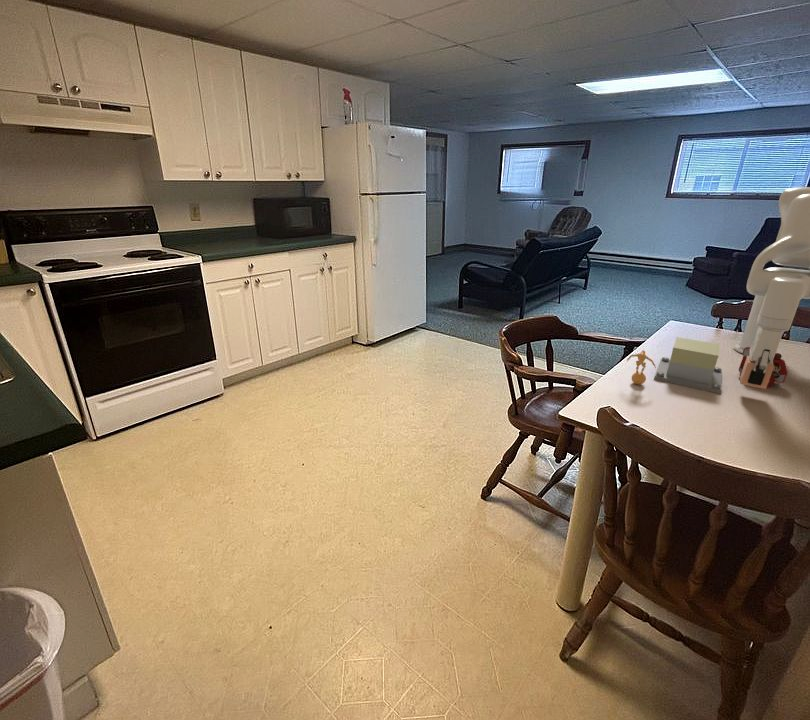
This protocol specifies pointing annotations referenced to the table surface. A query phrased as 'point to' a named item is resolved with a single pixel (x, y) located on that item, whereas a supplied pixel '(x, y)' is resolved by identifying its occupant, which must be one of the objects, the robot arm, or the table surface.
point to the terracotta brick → (747, 370)
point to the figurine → (638, 376)
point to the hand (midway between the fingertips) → (753, 378)
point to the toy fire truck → (776, 362)
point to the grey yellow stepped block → (692, 365)
